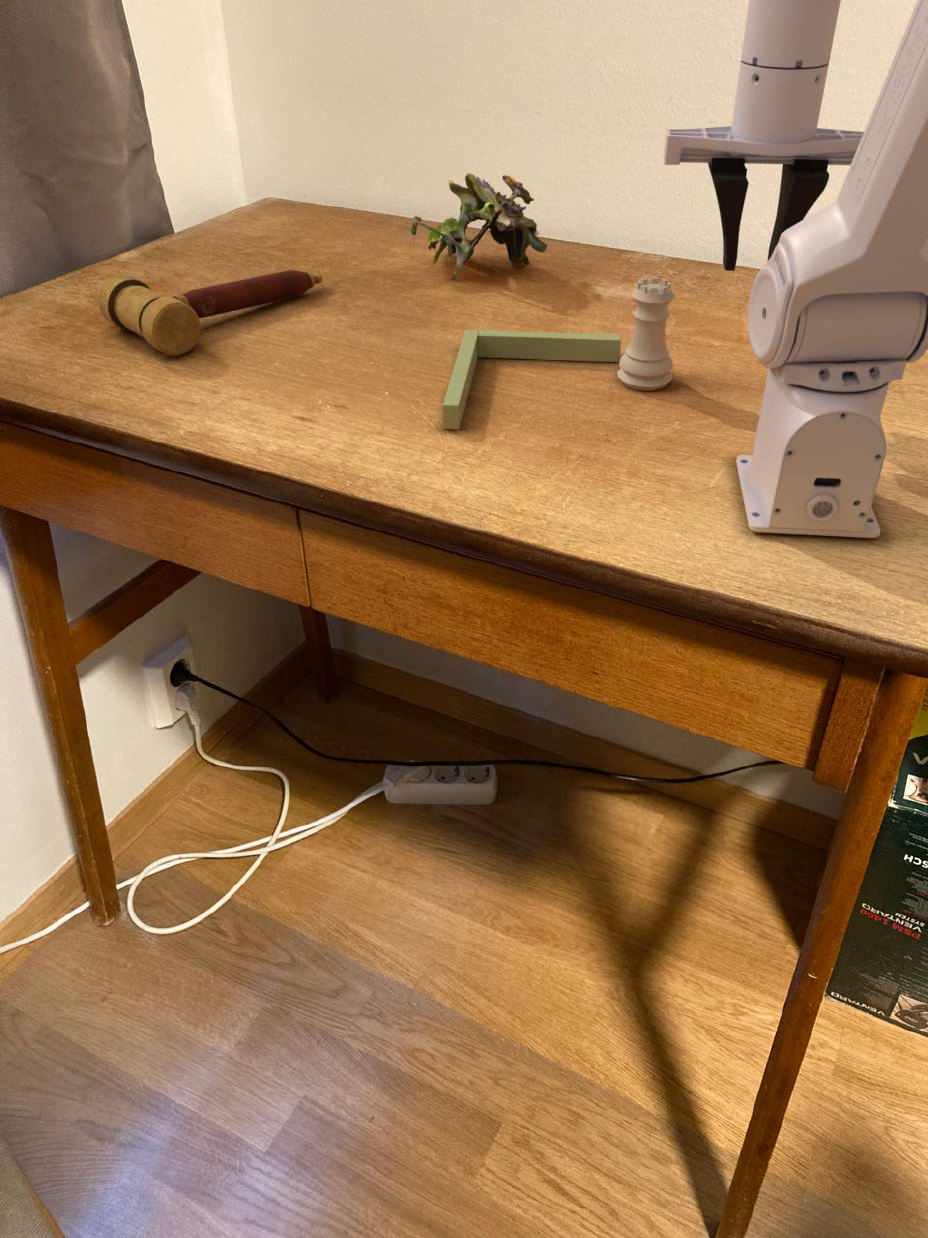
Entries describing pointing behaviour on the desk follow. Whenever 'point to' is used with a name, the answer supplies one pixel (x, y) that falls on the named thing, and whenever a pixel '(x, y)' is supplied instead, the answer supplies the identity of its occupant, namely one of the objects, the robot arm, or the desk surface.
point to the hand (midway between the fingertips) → (750, 266)
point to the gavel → (191, 305)
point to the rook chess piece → (648, 339)
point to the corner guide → (519, 357)
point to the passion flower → (499, 218)
